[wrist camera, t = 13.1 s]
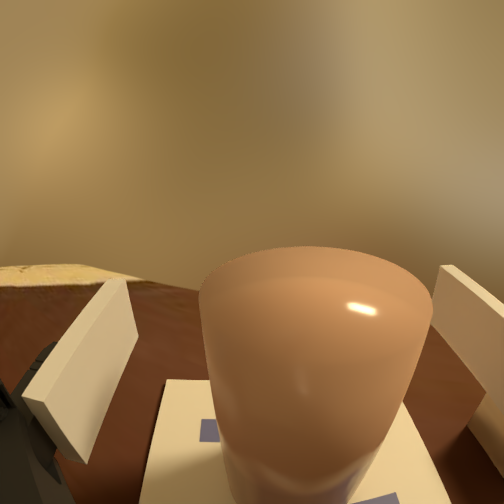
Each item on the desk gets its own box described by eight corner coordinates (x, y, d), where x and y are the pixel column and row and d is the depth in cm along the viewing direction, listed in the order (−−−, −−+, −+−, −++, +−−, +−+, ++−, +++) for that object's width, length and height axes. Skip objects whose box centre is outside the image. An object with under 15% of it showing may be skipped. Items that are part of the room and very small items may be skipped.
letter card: (127, 593, 5) (124, 592, 5) (168, 382, 18) (167, 379, 18) (465, 549, 5) (469, 547, 5) (382, 369, 18) (383, 365, 18)
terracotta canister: (228, 532, 8) (180, 373, 5) (228, 430, 14) (210, 249, 10) (369, 514, 8) (478, 338, 5) (342, 421, 14) (378, 244, 11)
